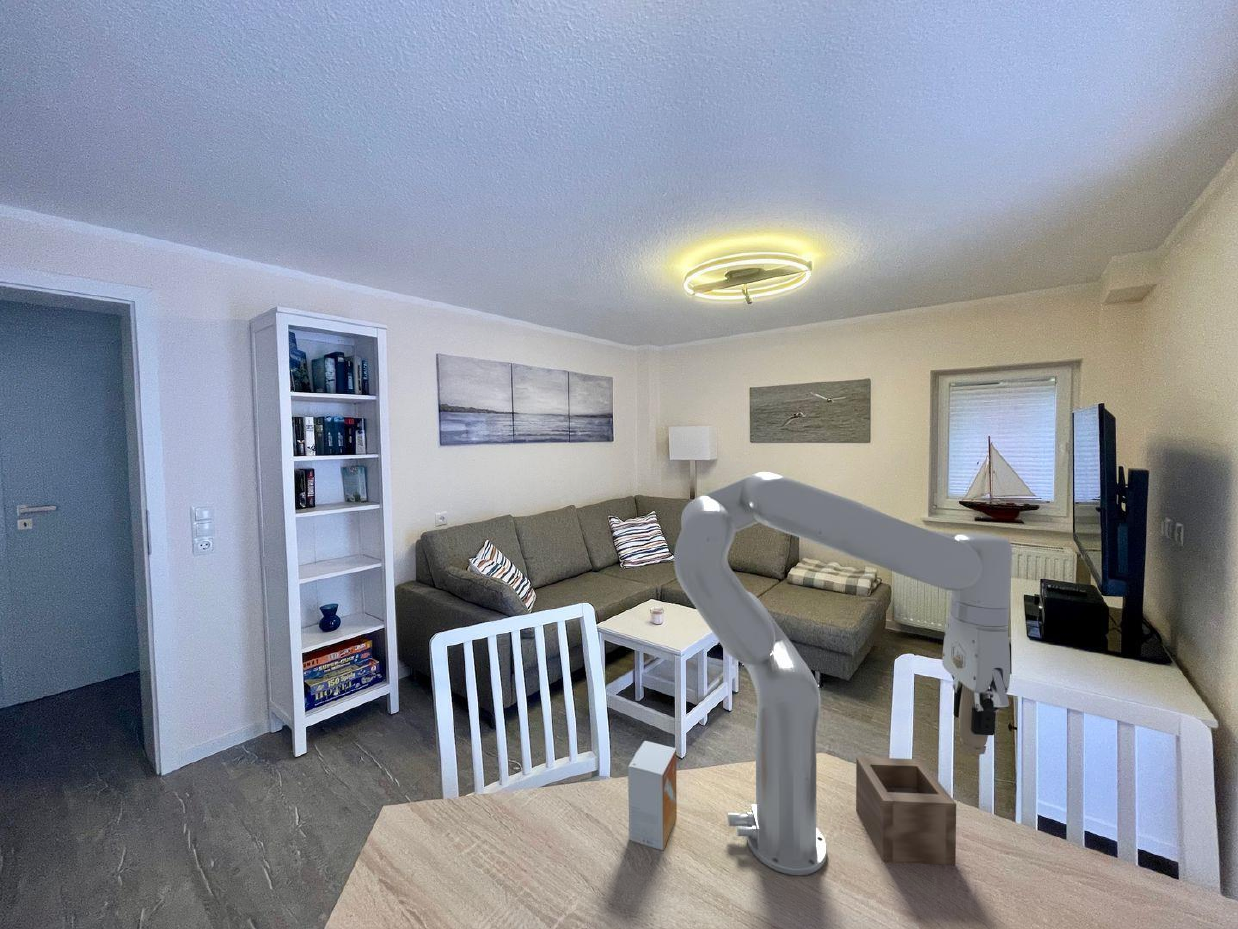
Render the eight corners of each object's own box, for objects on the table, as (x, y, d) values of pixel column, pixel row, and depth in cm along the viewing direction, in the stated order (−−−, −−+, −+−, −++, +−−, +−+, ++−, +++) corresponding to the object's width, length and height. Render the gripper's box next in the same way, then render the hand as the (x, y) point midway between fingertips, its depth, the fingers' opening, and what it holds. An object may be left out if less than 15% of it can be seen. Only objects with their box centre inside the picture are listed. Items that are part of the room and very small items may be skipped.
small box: (663, 852, 83) (662, 775, 82) (628, 840, 85) (626, 766, 84) (678, 818, 90) (677, 747, 89) (644, 808, 93) (643, 739, 92)
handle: (1003, 762, 78) (1008, 667, 77) (957, 757, 79) (962, 663, 78) (986, 744, 82) (991, 654, 82) (943, 739, 83) (947, 651, 83)
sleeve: (882, 861, 80) (883, 800, 80) (856, 810, 91) (856, 757, 90) (955, 865, 79) (956, 803, 79) (919, 813, 90) (920, 759, 90)
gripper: (926, 595, 88) (921, 697, 89) (988, 631, 71) (981, 756, 72) (971, 597, 87) (966, 700, 88) (1044, 634, 71) (1037, 760, 72)
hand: (973, 724), depth 80 cm, fingers closed on handle, 3 cm apart
